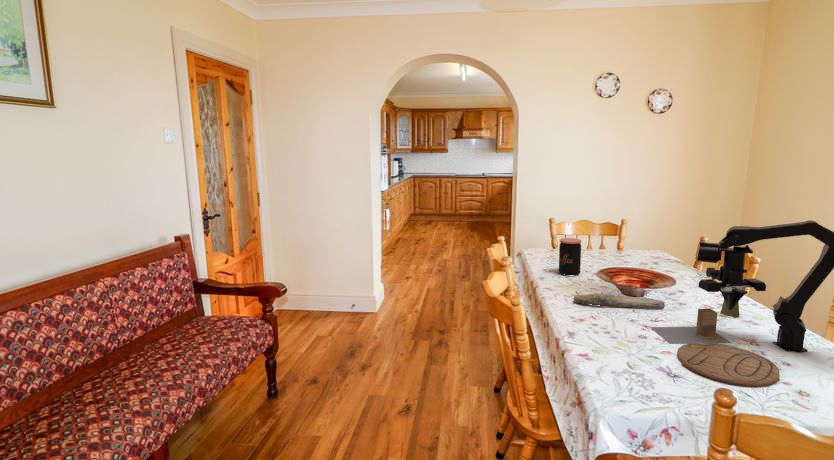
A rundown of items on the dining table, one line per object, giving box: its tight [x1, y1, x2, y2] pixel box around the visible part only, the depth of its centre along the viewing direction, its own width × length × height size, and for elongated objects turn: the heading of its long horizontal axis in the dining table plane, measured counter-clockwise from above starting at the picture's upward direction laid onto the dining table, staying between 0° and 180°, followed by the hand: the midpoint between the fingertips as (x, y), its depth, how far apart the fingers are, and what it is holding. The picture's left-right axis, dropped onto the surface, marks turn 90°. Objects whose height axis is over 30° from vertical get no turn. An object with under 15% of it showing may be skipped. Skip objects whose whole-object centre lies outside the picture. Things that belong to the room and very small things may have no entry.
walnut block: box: [696, 308, 718, 338], centre depth 151 cm, size 4×4×9 cm
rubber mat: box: [649, 326, 732, 345], centre depth 153 cm, size 14×20×1 cm
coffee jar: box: [558, 237, 582, 276], centre depth 230 cm, size 11×11×18 cm
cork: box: [720, 299, 740, 318], centre depth 169 cm, size 6×6×11 cm
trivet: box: [676, 342, 780, 388], centre depth 132 cm, size 25×25×2 cm
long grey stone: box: [573, 293, 666, 310], centre depth 184 cm, size 35×5×10 cm
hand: (729, 309), depth 150 cm, fingers closed
